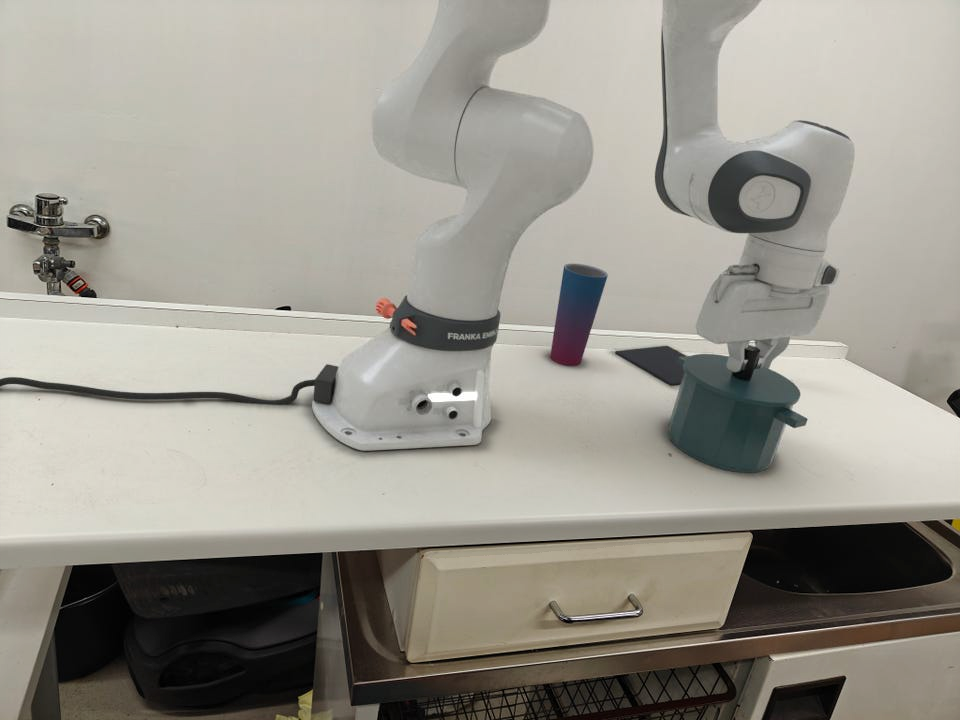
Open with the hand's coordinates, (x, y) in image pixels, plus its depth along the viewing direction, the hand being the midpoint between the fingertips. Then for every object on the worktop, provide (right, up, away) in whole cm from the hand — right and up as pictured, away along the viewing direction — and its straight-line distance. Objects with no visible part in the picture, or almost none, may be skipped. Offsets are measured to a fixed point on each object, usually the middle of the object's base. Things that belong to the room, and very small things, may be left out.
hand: (743, 368), depth 92 cm
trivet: (-2, 0, +30) cm, 30 cm away
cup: (-20, +1, +24) cm, 31 cm away
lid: (0, -2, +1) cm, 2 cm away
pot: (-2, -10, +4) cm, 11 cm away
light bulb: (+14, -2, +32) cm, 35 cm away
